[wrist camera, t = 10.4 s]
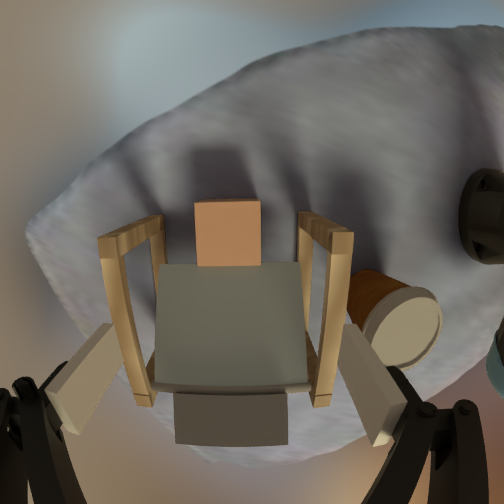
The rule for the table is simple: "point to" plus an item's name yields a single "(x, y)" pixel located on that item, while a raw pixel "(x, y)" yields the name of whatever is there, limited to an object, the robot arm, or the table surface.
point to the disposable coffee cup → (394, 317)
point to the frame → (335, 296)
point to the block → (228, 232)
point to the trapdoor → (230, 351)
